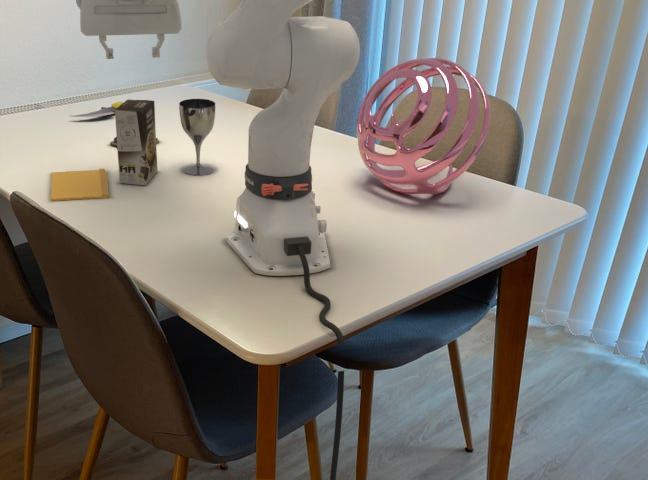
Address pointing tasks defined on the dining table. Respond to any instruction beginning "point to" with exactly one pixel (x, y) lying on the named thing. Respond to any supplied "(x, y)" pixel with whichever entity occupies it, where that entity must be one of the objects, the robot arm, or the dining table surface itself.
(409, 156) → the spiral basket
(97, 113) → the knife
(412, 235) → the dining table surface
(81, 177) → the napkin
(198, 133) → the wine glass
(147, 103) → the coffee box
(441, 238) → the dining table surface
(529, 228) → the dining table surface
